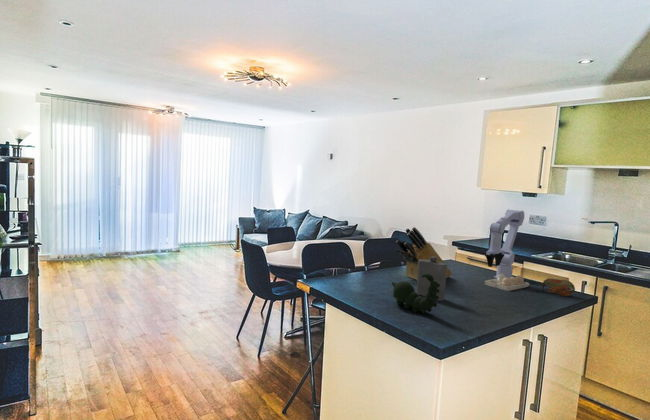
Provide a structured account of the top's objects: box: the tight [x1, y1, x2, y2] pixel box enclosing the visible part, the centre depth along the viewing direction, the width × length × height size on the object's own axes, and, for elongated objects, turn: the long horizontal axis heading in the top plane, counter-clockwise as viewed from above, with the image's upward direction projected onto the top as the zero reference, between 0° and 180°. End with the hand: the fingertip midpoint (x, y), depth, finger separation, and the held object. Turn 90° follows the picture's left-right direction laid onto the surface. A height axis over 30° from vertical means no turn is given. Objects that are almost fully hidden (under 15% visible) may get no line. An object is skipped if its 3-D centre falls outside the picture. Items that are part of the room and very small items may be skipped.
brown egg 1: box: [502, 278, 511, 287], centre depth 214 cm, size 4×4×6 cm
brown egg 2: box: [515, 275, 525, 284], centre depth 222 cm, size 4×4×6 cm
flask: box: [415, 256, 448, 302], centre depth 192 cm, size 15×6×20 cm, turn 45°
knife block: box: [395, 226, 453, 281], centre depth 229 cm, size 11×35×31 cm, turn 115°
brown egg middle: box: [509, 276, 517, 285], centre depth 218 cm, size 4×4×6 cm
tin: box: [542, 277, 576, 297], centre depth 209 cm, size 15×3×8 cm, turn 62°
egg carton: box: [483, 277, 530, 292], centre depth 221 cm, size 21×14×3 cm
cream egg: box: [496, 274, 506, 282], centre depth 223 cm, size 4×4×6 cm
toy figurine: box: [391, 273, 440, 314], centre depth 172 cm, size 9×19×25 cm
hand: (493, 266), depth 229 cm, fingers open, 7 cm apart
